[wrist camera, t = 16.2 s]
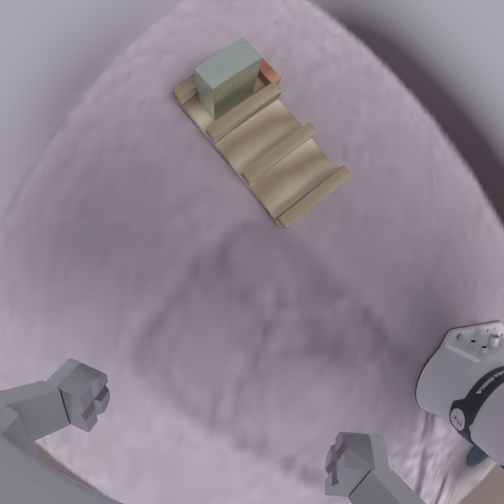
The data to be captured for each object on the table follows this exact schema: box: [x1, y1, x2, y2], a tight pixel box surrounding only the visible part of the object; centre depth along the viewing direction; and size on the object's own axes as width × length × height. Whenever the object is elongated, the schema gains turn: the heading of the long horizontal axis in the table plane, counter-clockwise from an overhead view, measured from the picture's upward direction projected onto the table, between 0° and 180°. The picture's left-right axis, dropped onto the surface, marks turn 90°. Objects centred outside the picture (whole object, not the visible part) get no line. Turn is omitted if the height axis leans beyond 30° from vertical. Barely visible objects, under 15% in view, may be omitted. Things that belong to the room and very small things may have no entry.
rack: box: [173, 58, 351, 229], centre depth 37 cm, size 21×11×4 cm, turn 39°
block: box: [194, 38, 262, 120], centre depth 32 cm, size 3×6×10 cm, turn 129°
